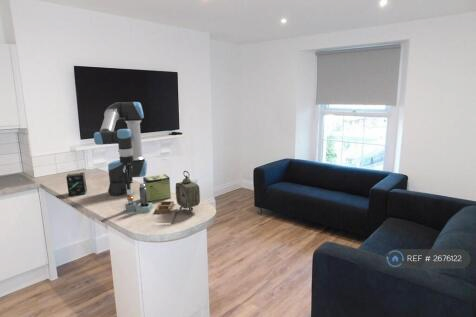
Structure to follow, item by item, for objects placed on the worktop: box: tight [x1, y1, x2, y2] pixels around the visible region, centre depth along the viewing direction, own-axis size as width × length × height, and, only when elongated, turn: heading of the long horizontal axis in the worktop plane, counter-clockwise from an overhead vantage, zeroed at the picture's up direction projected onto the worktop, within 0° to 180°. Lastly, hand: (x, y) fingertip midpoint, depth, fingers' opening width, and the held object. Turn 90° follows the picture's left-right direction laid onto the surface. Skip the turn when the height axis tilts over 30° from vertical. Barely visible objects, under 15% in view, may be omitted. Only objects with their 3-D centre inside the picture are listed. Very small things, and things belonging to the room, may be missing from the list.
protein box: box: [142, 173, 172, 203], centre depth 213 cm, size 10×16×16 cm
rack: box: [153, 200, 176, 215], centre depth 193 cm, size 16×10×3 cm, turn 1°
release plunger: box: [126, 195, 135, 205], centre depth 191 cm, size 4×4×5 cm
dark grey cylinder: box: [138, 183, 149, 207], centre depth 191 cm, size 4×4×16 cm
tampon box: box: [65, 171, 88, 197], centre depth 229 cm, size 11×9×15 cm
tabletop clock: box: [175, 170, 201, 215], centre depth 190 cm, size 14×9×25 cm, turn 37°
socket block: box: [124, 201, 155, 215], centre depth 192 cm, size 12×15×5 cm
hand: (129, 194), depth 190 cm, fingers closed
